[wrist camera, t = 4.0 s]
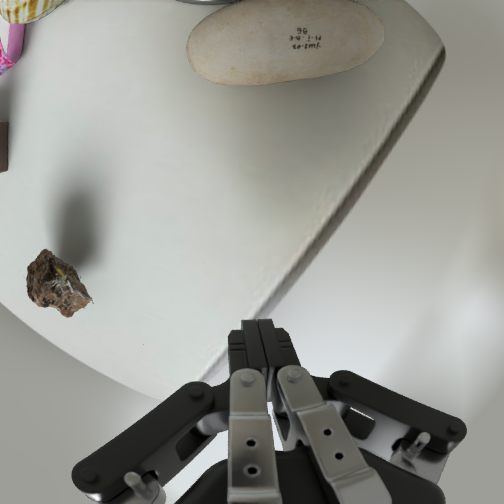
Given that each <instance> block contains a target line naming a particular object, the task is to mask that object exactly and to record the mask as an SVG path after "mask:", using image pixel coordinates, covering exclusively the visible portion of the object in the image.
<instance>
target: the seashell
mask: <svg viewBox="0 0 504 504" xmlns="http://www.w3.org/2000/svg"><path fill="white" fill-rule="evenodd" d="M63 1H64V0H0V14H1V15H2V17H3V18H4V19H5V20H6V21H7V22H9V23H12V24H24V23H31V22H34V21H36V20H39V19H41V18H43V17H45V16H47V15H48V14H49V13H51V12H52V11H53V10H54V9H55V8H56V7H58V6H59V5H60V4H61V3H62V2H63Z"/></svg>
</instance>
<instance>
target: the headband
mask: <svg viewBox="0 0 504 504" xmlns="http://www.w3.org/2000/svg"><path fill="white" fill-rule="evenodd" d="M24 27H25V23H24V24H12V23H10V30H9V39H8V48H7V56H6V54H5V52H4V49H3V47H2V43H1V39H0V76H1V75H2V74H3V73H4V72H5V71H7V70H8V69H9V68H10V67H11V66H12V65H14V64H15V63H16V62H17V61H18V60H19V58H20V55H21V51H22V45H23V37H24Z"/></svg>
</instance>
